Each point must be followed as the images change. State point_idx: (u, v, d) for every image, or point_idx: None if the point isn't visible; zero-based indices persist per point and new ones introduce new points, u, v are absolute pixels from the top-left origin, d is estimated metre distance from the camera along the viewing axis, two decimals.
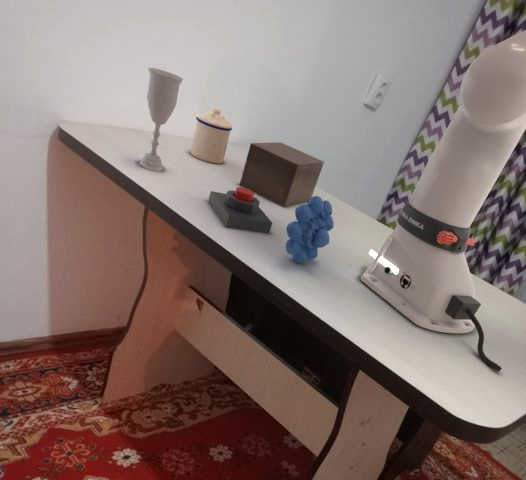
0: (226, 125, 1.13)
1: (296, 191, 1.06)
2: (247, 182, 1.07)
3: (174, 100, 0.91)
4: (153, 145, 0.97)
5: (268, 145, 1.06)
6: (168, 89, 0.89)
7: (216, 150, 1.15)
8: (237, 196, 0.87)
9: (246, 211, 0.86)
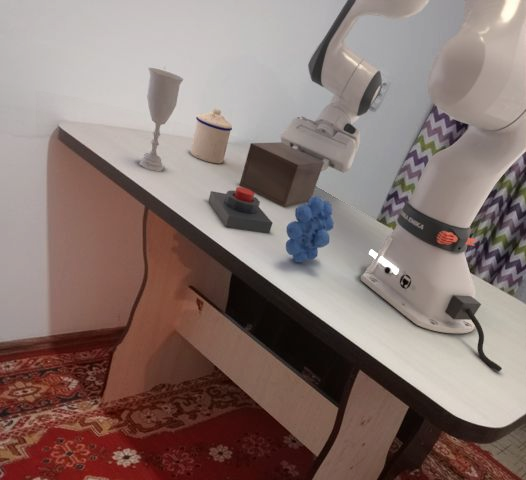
0: (226, 125, 1.13)
1: (296, 191, 1.06)
2: (247, 182, 1.07)
3: (174, 100, 0.91)
4: (153, 145, 0.97)
5: (268, 145, 1.06)
6: (168, 89, 0.89)
7: (216, 150, 1.15)
8: (237, 196, 0.87)
9: (246, 211, 0.86)
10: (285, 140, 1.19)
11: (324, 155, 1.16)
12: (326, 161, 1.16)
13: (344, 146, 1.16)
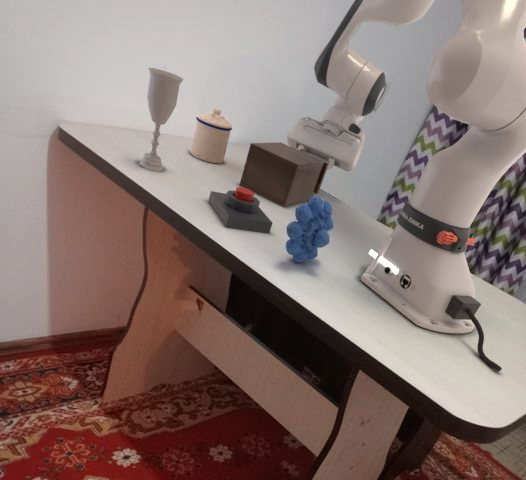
0: (226, 125, 1.13)
1: (296, 191, 1.06)
2: (247, 182, 1.07)
3: (174, 100, 0.91)
4: (153, 145, 0.97)
5: (268, 145, 1.06)
6: (168, 89, 0.89)
7: (216, 150, 1.15)
8: (237, 196, 0.87)
9: (246, 211, 0.86)
10: (292, 140, 1.22)
11: (330, 154, 1.19)
12: (332, 160, 1.19)
13: (349, 146, 1.19)
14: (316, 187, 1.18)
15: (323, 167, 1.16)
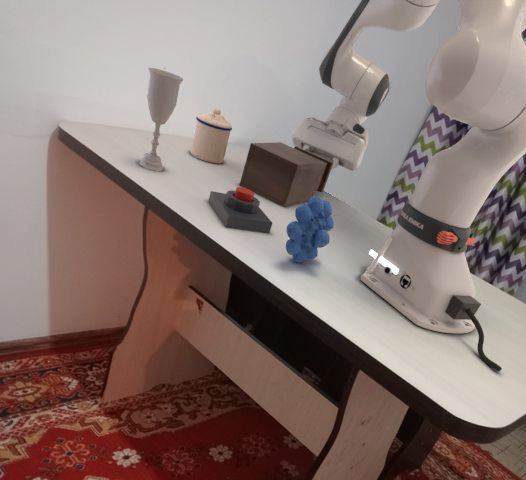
0: (226, 125, 1.13)
1: (296, 191, 1.06)
2: (247, 182, 1.07)
3: (174, 100, 0.91)
4: (153, 145, 0.97)
5: (268, 145, 1.06)
6: (168, 89, 0.89)
7: (216, 150, 1.15)
8: (237, 196, 0.87)
9: (246, 211, 0.86)
10: (297, 140, 1.25)
11: (334, 154, 1.21)
12: (336, 160, 1.21)
13: (353, 145, 1.21)
14: (321, 186, 1.21)
15: (328, 166, 1.18)
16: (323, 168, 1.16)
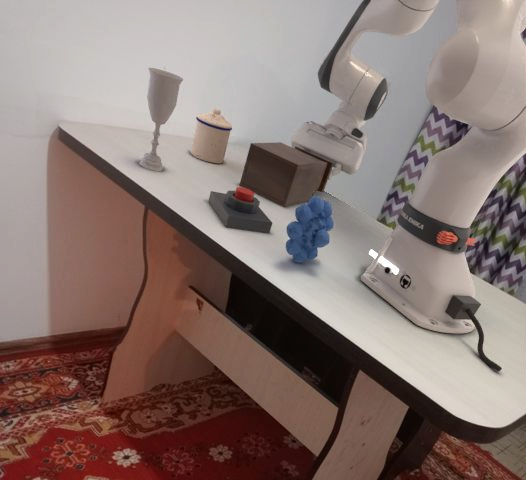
0: (226, 125, 1.13)
1: (296, 191, 1.06)
2: (247, 182, 1.07)
3: (174, 100, 0.91)
4: (153, 145, 0.97)
5: (268, 145, 1.06)
6: (168, 89, 0.89)
7: (216, 150, 1.15)
8: (237, 196, 0.87)
9: (246, 211, 0.86)
10: (296, 144, 1.25)
11: (333, 158, 1.22)
12: (339, 166, 1.21)
13: (352, 149, 1.22)
14: (321, 186, 1.21)
15: (328, 166, 1.18)
16: (323, 168, 1.16)
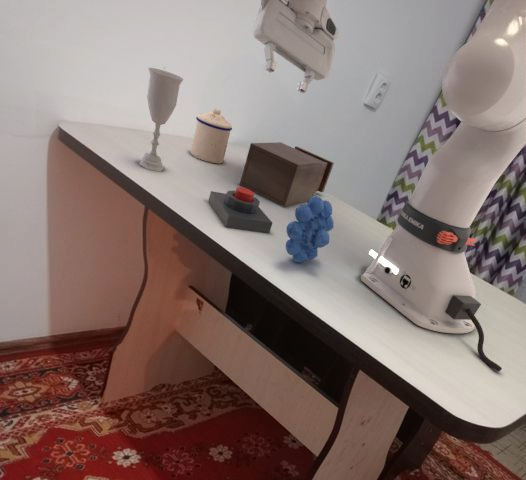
0: (226, 125, 1.13)
1: (296, 191, 1.06)
2: (247, 182, 1.07)
3: (174, 100, 0.91)
4: (153, 145, 0.97)
5: (268, 145, 1.06)
6: (168, 89, 0.89)
7: (216, 150, 1.15)
8: (237, 196, 0.87)
9: (246, 211, 0.86)
10: (266, 38, 0.93)
11: (308, 64, 1.00)
12: (313, 75, 1.03)
13: (323, 49, 1.02)
14: (321, 186, 1.21)
15: (328, 166, 1.18)
16: (323, 168, 1.16)
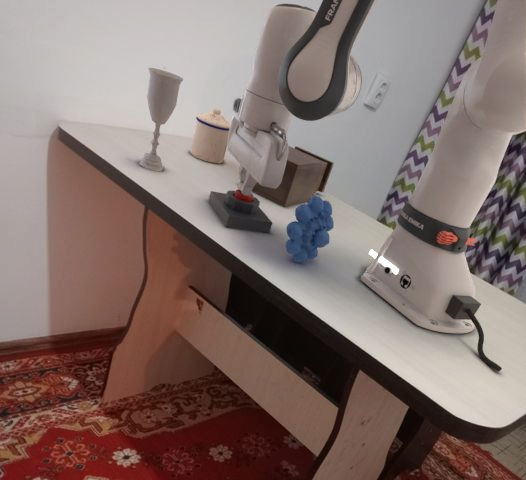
0: (226, 125, 1.13)
1: (296, 191, 1.06)
2: None
3: (174, 100, 0.91)
4: (153, 145, 0.97)
5: None
6: (168, 89, 0.89)
7: (216, 150, 1.15)
8: None
9: (246, 211, 0.86)
10: None
11: None
12: None
13: None
14: (321, 186, 1.21)
15: (328, 166, 1.18)
16: (323, 168, 1.16)
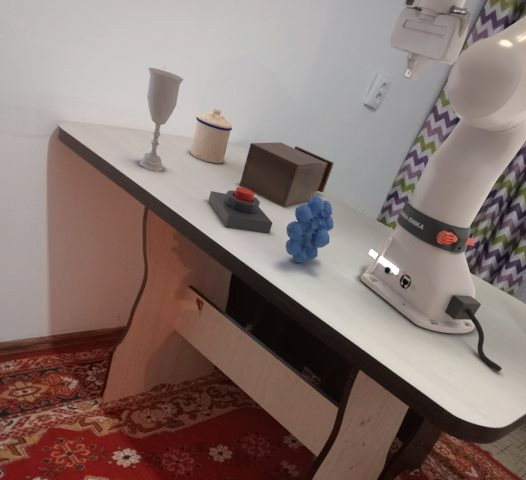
0: (226, 125, 1.13)
1: (296, 191, 1.06)
2: (247, 182, 1.07)
3: (174, 100, 0.91)
4: (153, 145, 0.97)
5: (268, 145, 1.06)
6: (168, 89, 0.89)
7: (216, 150, 1.15)
8: (237, 196, 0.87)
9: (246, 211, 0.86)
10: (445, 63, 0.94)
11: None
12: None
13: None
14: (321, 186, 1.21)
15: (328, 166, 1.18)
16: (323, 168, 1.16)
